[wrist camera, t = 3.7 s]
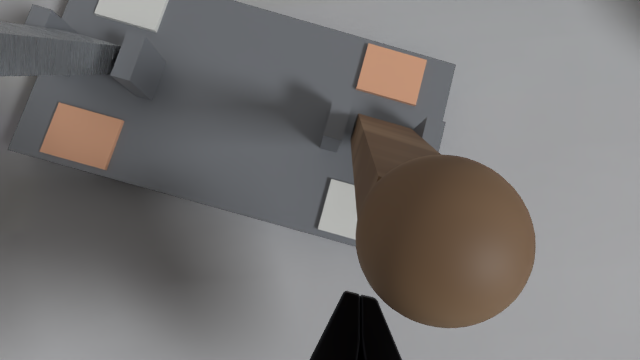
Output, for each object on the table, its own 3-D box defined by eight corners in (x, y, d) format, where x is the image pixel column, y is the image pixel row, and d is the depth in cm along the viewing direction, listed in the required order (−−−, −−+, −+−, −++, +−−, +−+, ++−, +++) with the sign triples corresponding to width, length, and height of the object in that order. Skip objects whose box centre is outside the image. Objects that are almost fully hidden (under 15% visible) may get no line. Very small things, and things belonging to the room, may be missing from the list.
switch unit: (400, 258, 19) (427, 266, 15) (31, 156, 18) (-41, 136, 15) (444, 76, 20) (478, 40, 16) (101, -22, 20) (54, -83, 16)
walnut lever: (398, 169, 17) (522, 391, 5) (341, 152, 17) (334, 340, 5) (419, 110, 17) (618, 217, 5) (358, 93, 17) (398, 155, 4)
